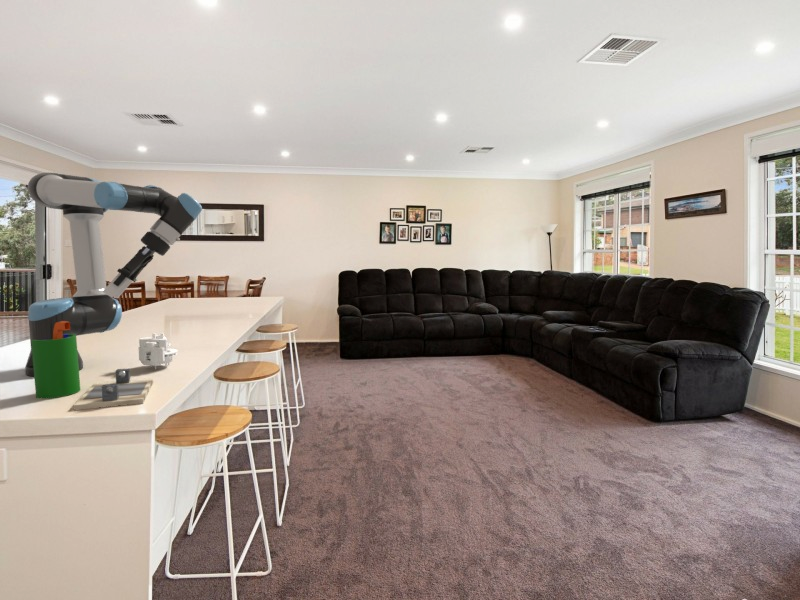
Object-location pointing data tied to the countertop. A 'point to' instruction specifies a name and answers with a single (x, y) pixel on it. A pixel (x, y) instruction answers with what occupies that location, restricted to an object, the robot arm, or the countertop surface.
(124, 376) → the grey block with stub
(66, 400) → the countertop surface
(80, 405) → the mount plate
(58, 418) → the countertop surface
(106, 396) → the knobbed dark grey block
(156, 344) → the mechanical part
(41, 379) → the green plastic cylinder
